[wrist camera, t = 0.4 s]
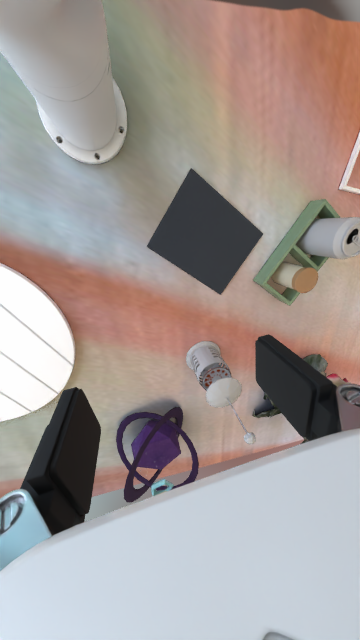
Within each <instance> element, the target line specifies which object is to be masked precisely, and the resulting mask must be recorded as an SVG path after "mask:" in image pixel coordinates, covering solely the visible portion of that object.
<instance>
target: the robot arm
mask: <svg viewBox="0 0 360 640" xmlns="http://www.w3.org/2000/svg"><path fill="white" fill-rule="evenodd" d="M0 51H1V53H2V54H3V55H4V57H5V58H6V59H7V61H8V62H9V63H10V65H11V66H12V68H13V69H14V71H15V72H16V73H17V75H18V76H19V77H20V79H21V80H22V81H23V83H24V84H25V85H26V87H27V88H28V90H29V91H30V92H31V94H32V95H33V96H34V98H35V99H36V101H37V108H38V111H39V115H40V118H41V120H42V122H43V125H44V127H45V129H46V130H47V132H48V134H49V135H50V137H51V138H52V139H53V141H54V142H55V143H56V144H57V145H58V146H59V147H60V148H61V149H62V150H63V151H64V152H65V153H66V154H68V155H69V156H70V157H72V158H74V159H76V160H78V161H80V162H83V163H86V164H102V163H104V162H107V161H109V160H110V159H112V158H113V157H115V156H116V154H117V153H118V152H119V151H120V149H121V147H122V146H123V143H124V140H125V138H126V132H127V113H126V107H125V103H124V99H123V97H122V94H121V91H120V89H119V87H118V85H117V84H116V82H115V80H114V79H113V77H112V70H111V61H110V53H109V44H108V36H107V28H106V20H105V15H104V10H103V5H102V1H101V0H0ZM120 130H122V131H123V133H120ZM60 140H62V143H60V142H59V141H60ZM97 156H99V159H96V157H97ZM255 344H256V381H257V383H258V385H259V386H260V387H261V388H262V389H263V391H264V392H265V393H266V394H267V396H268V397H269V398H270V399H271V400H272V402H273V403H274V404H275V405H276V406H277V408H278V409H279V410H280V411H281V413H282V414H283V415H284V416H285V417H286V419H287V420H288V421H289V422H290V423H291V425H292V426H293V427H294V428H295V429H296V431H297V432H298V433H299V434H300V435H301V436H302V437H306V439H307V440H308V441H309V442H306V443H303V444H300V445H297V446H294V447H291V448H288V449H286V450H283V451H280V452H277V453H274V454H271V455H268V456H265V457H262V458H260V459H257V460H254V461H251V462H248V463H245V464H242V465H240V466H237V467H234V468H231V469H228V470H226V471H223V472H220V473H217V474H214V475H211V476H209V477H206V478H203V479H200V480H197V481H195V482H192V483H189V484H186V485H183V486H181V487H178V488H175V489H172V490H169V491H167V492H164V493H161V494H158V495H156V496H153V497H150V498H147V499H145V500H142V501H139V502H136V503H134V504H131V505H128V506H125V507H123V508H120V509H117V510H115V511H112V512H109V513H107V514H104V515H101V516H99V517H96V518H94V519H91V520H88V521H86V522H84V519H85V514H87V513H88V512H89V509H90V504H91V497H92V490H93V483H94V476H95V469H96V462H97V455H98V449H99V442H100V435H101V427H100V424H99V422H98V420H97V418H96V416H95V414H94V412H93V410H92V408H91V406H90V404H89V402H88V400H87V398H86V396H85V394H84V392H83V390H82V389H78V388H77V387H75V388H71V389H68V390H64V391H63V392H62V395H61V397H60V399H59V402H58V404H57V407H56V409H55V411H54V414H53V416H52V419H51V421H50V424H49V425H48V426H47V427H46V429H45V431H44V434H43V436H42V439H41V441H40V443H39V446H38V448H37V450H36V453H35V455H34V457H33V460H32V462H31V465H30V467H29V469H28V472H27V474H26V476H25V479H24V481H23V483H22V486H21V488H20V489H17V490H14V491H12V492H10V493H8V494H6V495H5V496H3V497H2V498H1V499H0V640H360V385H357V384H350V383H347V384H341V385H339V386H338V387H337V386H336V385H334V384H333V382H332V381H331V380H329V379H328V378H327V377H325V376H324V375H323V374H321V373H320V372H319V371H317V370H316V369H315V368H314V367H312V366H311V365H310V364H308V363H307V362H306V361H304V360H303V359H302V358H300V357H299V356H298V355H296V354H295V353H294V352H292V351H291V350H290V349H288V348H287V347H286V346H284V345H283V344H282V343H280V342H279V341H278V340H276V339H275V338H274V337H272V336H271V335H265V336H261V337H259V338H258V340H257V341H256V343H255Z"/></svg>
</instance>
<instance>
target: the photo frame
mask: <svg viewBox="0 0 360 640" xmlns="http://www.w3.org/2000/svg"><path fill="white" fill-rule="evenodd" d="M359 150H360V132H359V135H358V138H357V140H356V143H355V146H354V149H353V151H352V154H351V157H350V160H349V162H348V165H347V168H346V171H345V173H344V176H343V179H342V182H341V184H340V187H339V190H343V191H347V192H351V193H355V194H359V195H360V189H356V188H352V187H349V186H346V185H347V182H348V180H349V177H350V174H351V172H352V169H353V166H354V164H355V161H356V158H357V156H358V153H359Z"/></svg>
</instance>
